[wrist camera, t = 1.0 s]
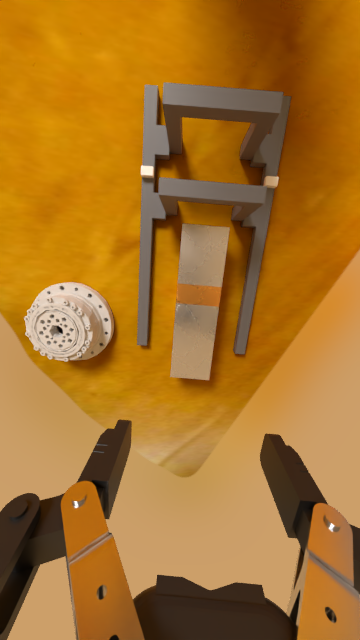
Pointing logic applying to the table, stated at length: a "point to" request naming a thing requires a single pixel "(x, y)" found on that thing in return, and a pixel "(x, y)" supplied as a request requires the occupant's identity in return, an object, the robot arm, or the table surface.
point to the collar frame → (247, 199)
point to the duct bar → (198, 299)
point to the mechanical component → (69, 322)
